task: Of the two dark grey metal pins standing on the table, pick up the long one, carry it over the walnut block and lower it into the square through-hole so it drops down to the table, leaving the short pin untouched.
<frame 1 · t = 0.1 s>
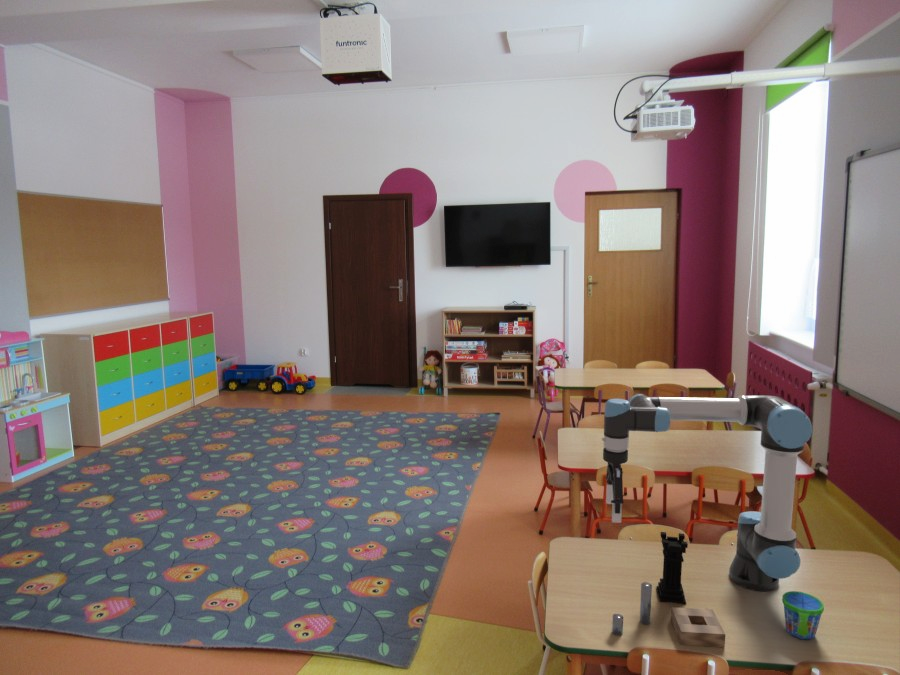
hand: (613, 512, 201), 28 cm above the table, fingers open, 13 cm apart
hole block: (696, 632, 185), on the table
chess piece: (670, 596, 204), on the table
long pin: (644, 621, 190), on the table
short pin: (617, 632, 185), on the table
snack cup: (800, 633, 185), on the table
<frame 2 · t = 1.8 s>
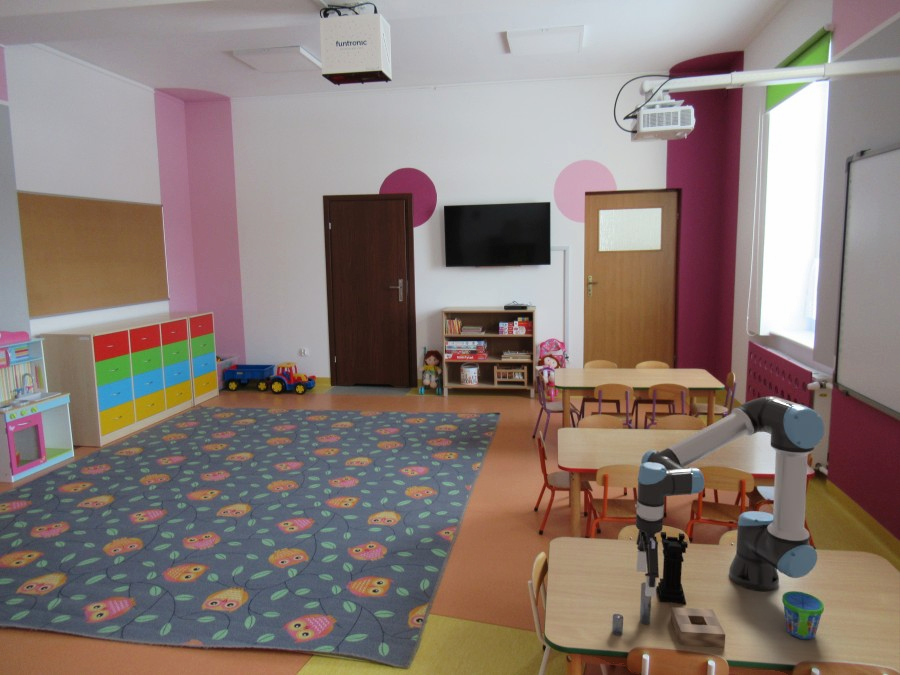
hand: (645, 583, 188), 13 cm above the table, fingers open, 13 cm apart
nothing on the table moved.
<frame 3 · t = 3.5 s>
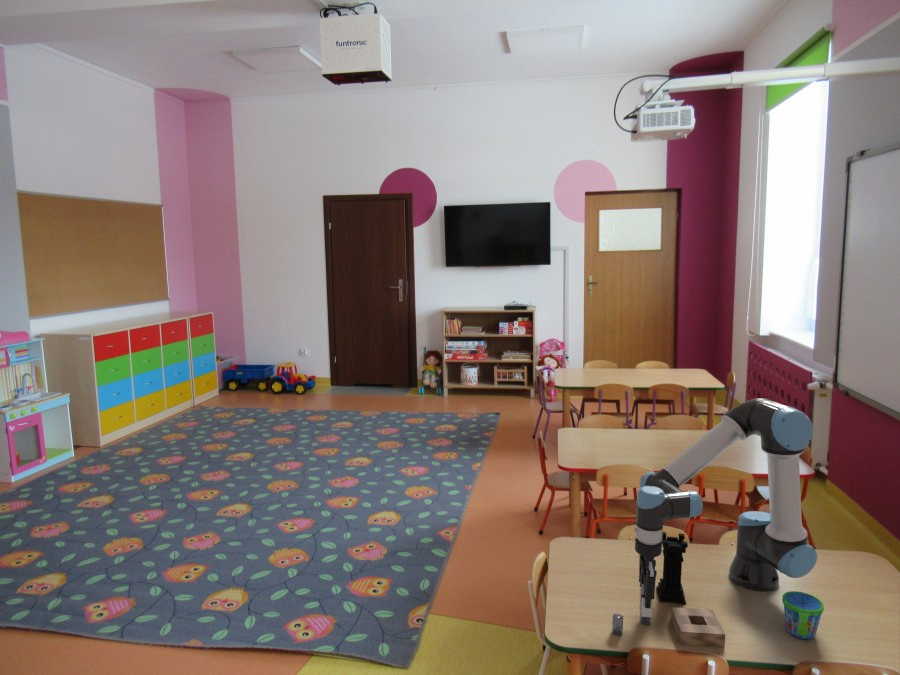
hand: (645, 612, 190), 3 cm above the table, fingers closed on long pin, 3 cm apart
long pin: (645, 622, 190), on the table, touching gripper
everything else where it was.
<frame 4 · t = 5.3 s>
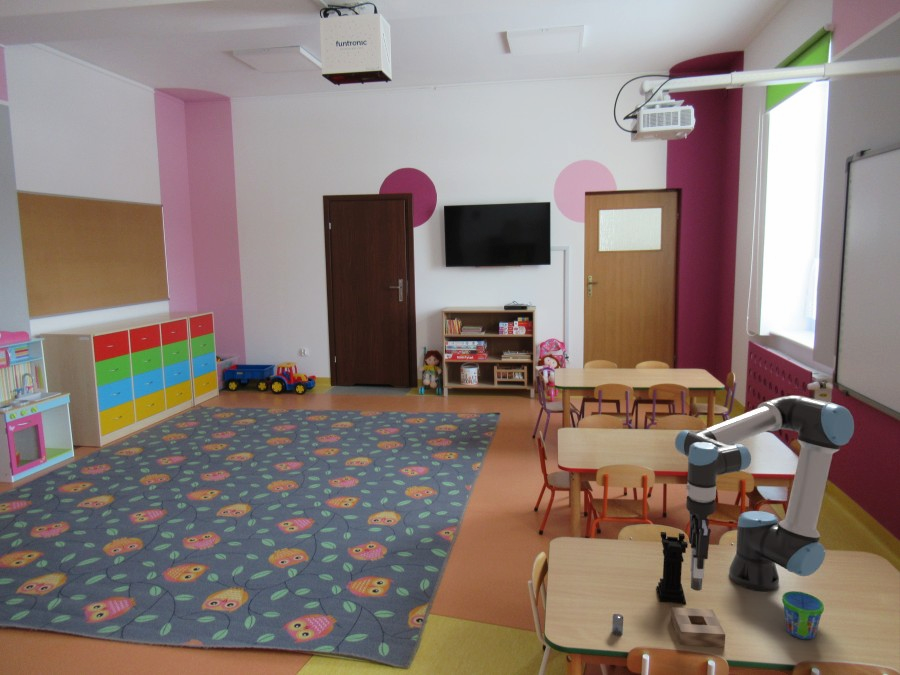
hand: (697, 574, 183), 18 cm above the table, fingers closed on long pin, 3 cm apart
long pin: (696, 587, 183), point 14 cm above the table, touching gripper
everything else where it was.
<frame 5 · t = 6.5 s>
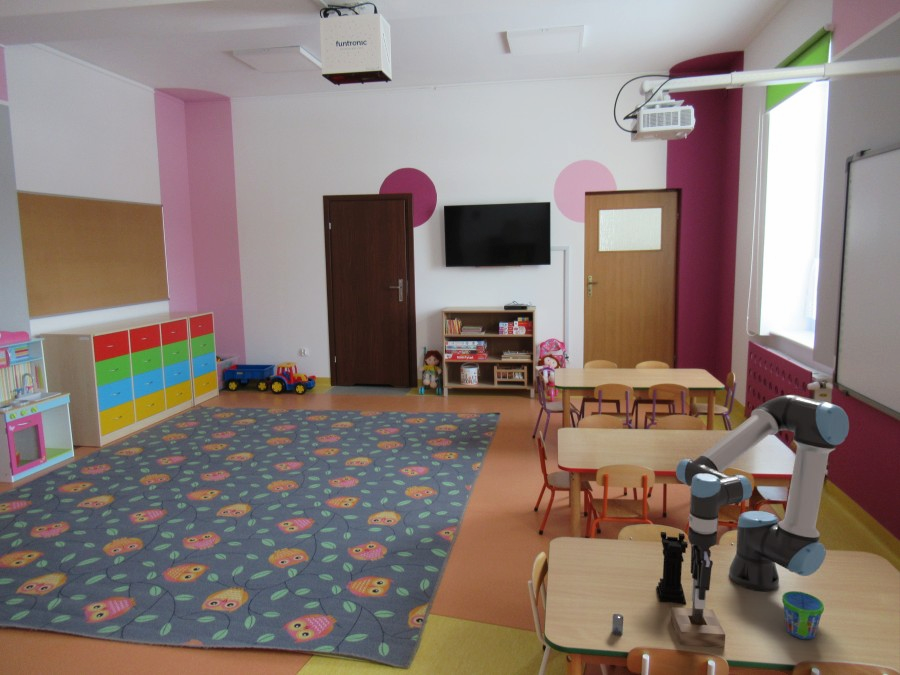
hand: (698, 604, 183), 9 cm above the table, fingers closed on long pin, 3 cm apart
long pin: (697, 618, 184), point 5 cm above the table, touching gripper
everything else where it was.
when the fingers open (6 cm above the table, at t = 7.3 s): long pin drops 1 cm, resting in hole block.
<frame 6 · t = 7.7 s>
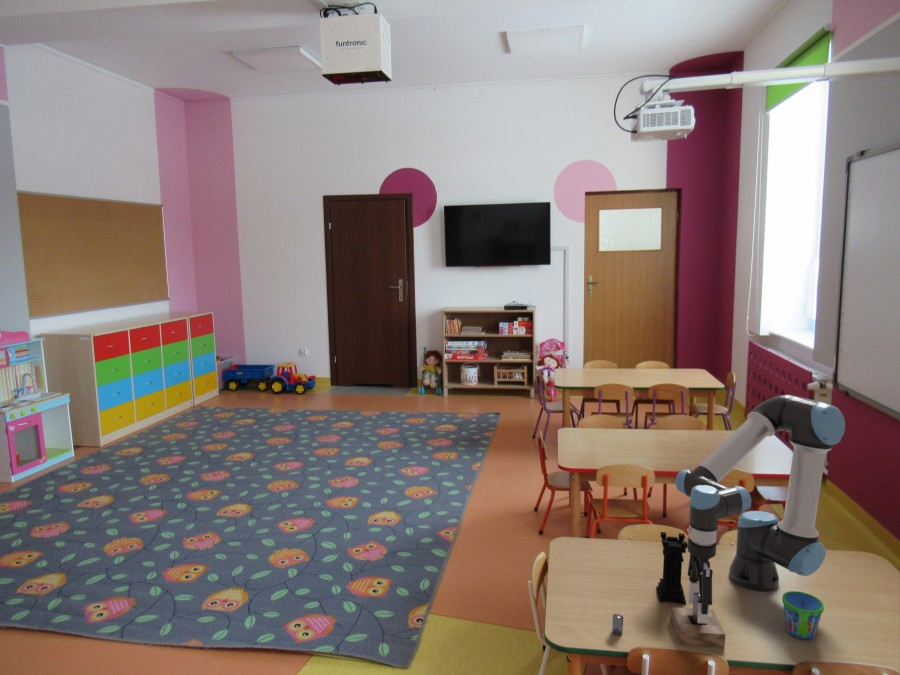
hand: (697, 612, 184), 6 cm above the table, fingers open, 9 cm apart
long pin: (696, 632, 185), resting in hole block
everything else where it was.
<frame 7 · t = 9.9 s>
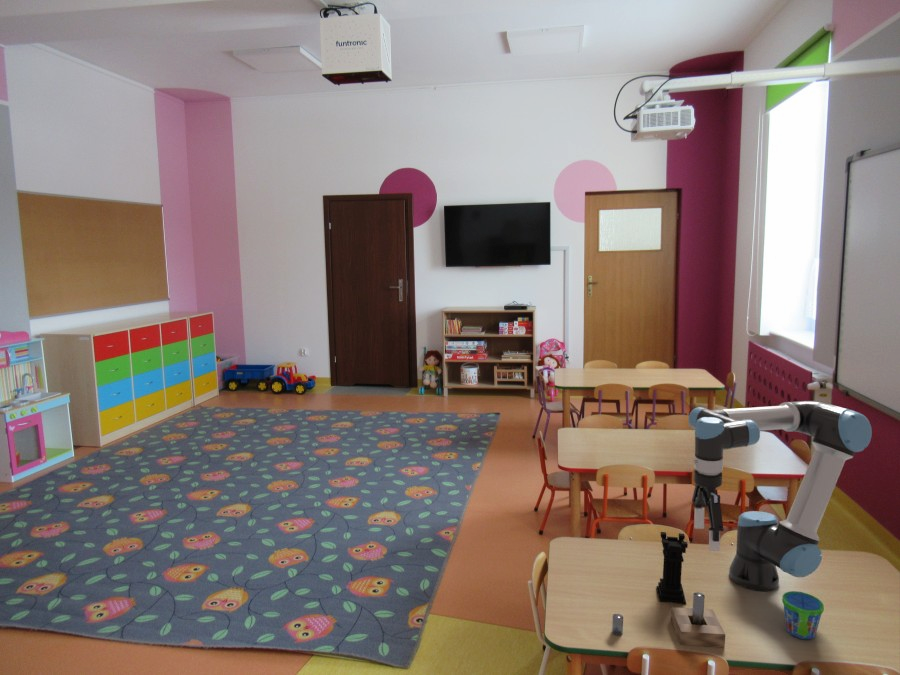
hand: (706, 538, 187), 26 cm above the table, fingers open, 13 cm apart
nothing on the table moved.
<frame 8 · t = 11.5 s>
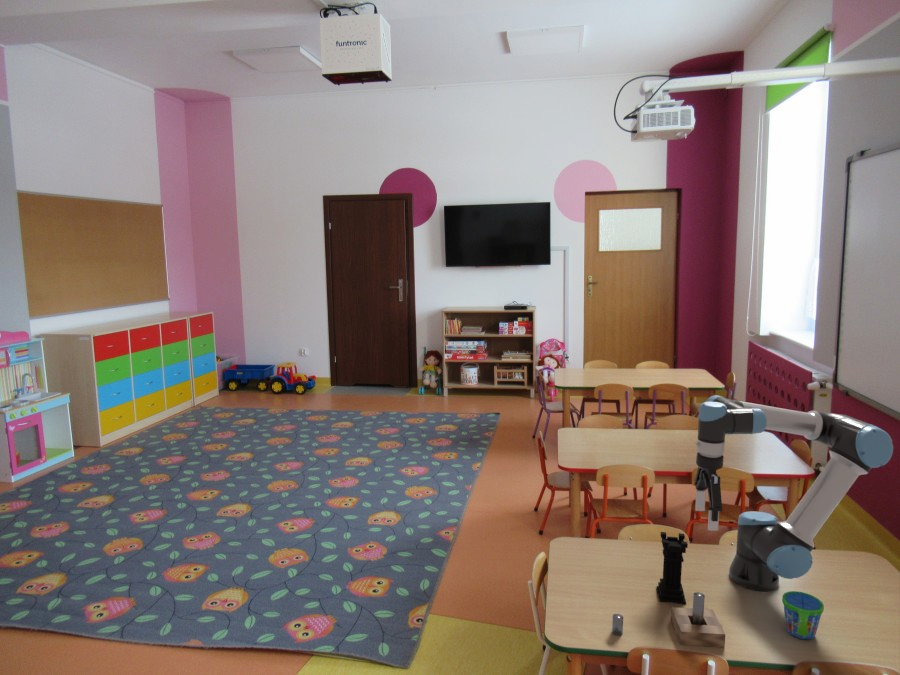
hand: (706, 520, 194), 29 cm above the table, fingers open, 13 cm apart
nothing on the table moved.
at the end: long pin 0.0 cm off-centre on the hole block, point 0.0 cm above the hole block's base; long pin tilted 0°; short pin moved 0.0 cm from its start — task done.
